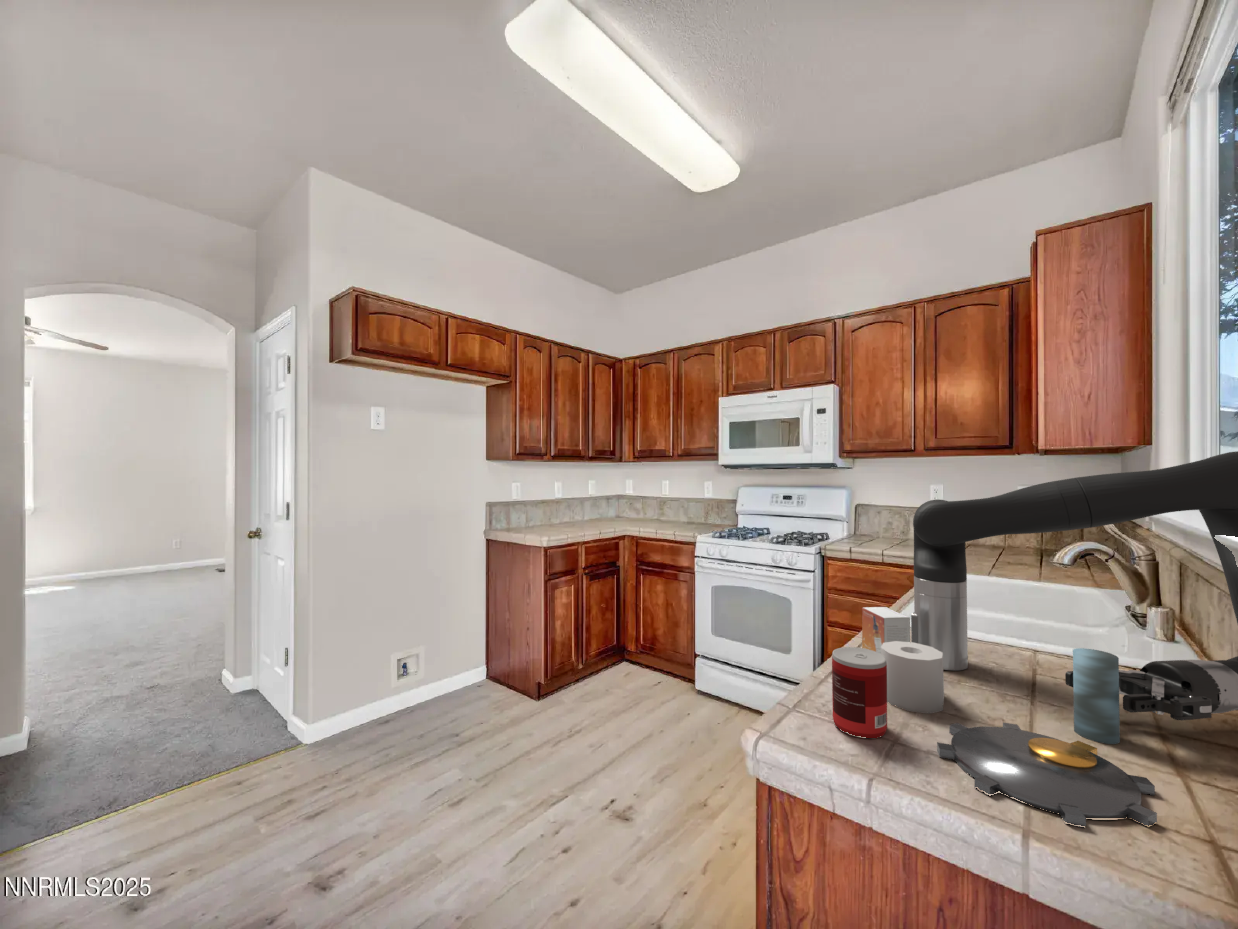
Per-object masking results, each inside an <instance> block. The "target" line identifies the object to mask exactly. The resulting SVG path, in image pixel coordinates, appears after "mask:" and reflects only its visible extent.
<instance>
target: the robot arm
mask: <svg viewBox="0 0 1238 929" xmlns="http://www.w3.org/2000/svg"><path fill="white" fill-rule="evenodd" d="M1196 510H1197V511H1199V513H1200V514H1201V516H1202V519H1203V521H1204V523H1205V525H1206V528H1207V530H1208V531H1209V534H1210V536H1211V539H1212V542H1213V544H1214V546H1215V549H1216V551H1217V552H1216V553H1217V554H1218V557H1219V562H1220V563H1221V567H1222V570H1223V573H1224V577H1225V582H1226V585H1227V588H1228V592H1229V595H1230V600H1231V601H1230V602H1231V604H1232V608H1233V611H1234V612H1233V613H1234V615H1235V619H1236V624H1237V625H1238V567H1237V565H1236V561H1235V557H1234V555H1233V554H1232V551H1230V550H1229V549H1228V548H1227V547H1225V545H1223V544H1221V543H1220V542H1219V541H1217V540H1216V539H1215V538H1214V537H1215V535H1226V536H1235V537H1238V450H1236V451H1229V452H1225V453H1221V454H1220V453H1219V454H1216V455H1213V456H1210V457H1206V458H1204V459H1200V460H1196V461H1193V462H1192V461H1191V462H1187V463H1183V464H1178V465H1174V466H1170V467H1165V468H1164V467H1163V468H1158V469H1157V468H1156V469H1152V470H1150V469H1149V470H1142V471H1141V470H1140V471H1128V472H1116V473H1115V472H1114V473H1105V474H1104V473H1103V474H1096V475H1095V474H1093V475H1087V476H1079V477H1072V478H1066V479H1065V478H1064V479H1061V480H1060V479H1059V480H1054V481H1053V480H1052V481H1048V482H1043V483H1039V484H1034V485H1030V486H1026V487H1023V488H1018V489H1016V490H1013V491H1009V492H1006V493H1003V494H999V495H995V496H990V497H983V498H975V499H965V500H950V501H949V500H944V499H931V500H928V501H925V502H923V503H922V504H920V506H918V507H917V508H916V510H915V512H914V514H913V519H912V526H913V600H914V602H913V603H914V604H913V605H914V607H913V613H911V615H910V642H914V643H918V644H922V645H926V646H930V647H933V648H935V649H937V650H938V651H940V652H942V653H943V671H944V670H945V671H963V670H966V669H968V667H969V665H968V664H969V663H968V662H969V655H968V651H969V650H968V646H969V645H968V643H969V641H968V591H967V590H968V589H967V588H968V586H967V585H968V569H967V556H966V549H967V548H966V543H967V542H972V541H975V540H976V541H977V540H982V539H985V538H986V539H987V538H992V537H996V536H1006V535H1024V534H1025V535H1027V534H1042V533H1043V534H1044V533H1053V532H1064V531H1065V532H1066V531H1067V532H1068V531H1074V530H1083V529H1090V528H1097V527H1105V526H1110V525H1115V524H1120V523H1125V522H1131V521H1137V520H1139V519H1140V520H1141V519H1145V518H1148V517H1152V516H1157V515H1162V514H1168V513H1177V512H1185V511H1196ZM1064 681H1065V682H1064V683H1065V684H1066V686H1068V687H1071V688H1073V670H1068V671H1066V672H1065V680H1064ZM1119 695H1123V697H1122V708H1123V710H1124V711H1125V712H1128V713H1132V714H1133V713H1149V712H1150V713H1151V712H1152V713H1153V714H1156V715H1164V714H1169V715H1170V718H1171V719H1173V720H1175V721H1191V720H1202V719H1211V718H1212V715H1213V714H1224V713H1228V712H1232V711H1238V656H1234V657H1231V658H1228V659H1226V660H1225V659H1219V660H1218V659H1217V660H1204V659H1179V660H1178V659H1177V660H1176V659H1175V660H1173V659H1172V660H1171V659H1170V660H1154V661H1149V662H1148V663H1146V664H1145V665H1143V666H1142V667H1141V669H1139V670H1135V669H1128V670H1125V669H1119Z"/></svg>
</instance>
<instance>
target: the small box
mask: <svg viewBox="0 0 1238 929" xmlns="http://www.w3.org/2000/svg"><path fill="white" fill-rule="evenodd" d="M861 609H862V610H861V611H862V616H861V619H862V622H861V623H862V625H861V626H862V627H861V628H862V629H861V632H862V633H861V635H862V636H861V648H864V649H869V650H872V651H875V652H878V653H880V654H881V646H882V644H883V643H886V642H893V641H901V642H911V616H908V615H904V614H902V613H900V612H897V611H895V610H893V609H891V608H889V607H887V606H871V607H869V606H866V607H862V608H861Z"/></svg>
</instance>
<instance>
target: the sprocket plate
mask: <svg viewBox="0 0 1238 929" xmlns="http://www.w3.org/2000/svg"><path fill="white" fill-rule="evenodd" d="M948 726H949V730H948V731H949V734H950V733H951V734H950V735H952V734H953V736H952V737H951V744H950V743H949V744H948V743H944V742H943V743H942V742H936V744H937V745H936V752H937V754H938V757H939V758H940V757H941V759H945V758H948V759H947V760H951V759H954V760H953V761H954V762H955V761H956V762H957V763H958V764H957V763H956V762H955V763H956V764H957V765H958V766H960V767H961V768H960V767H959V768H960V769H961V770H962V771H963V772H965V773H966V774H967V773H968V774H970V775H971V776H972V777H974V778H975V779H974V778H973V779H974V788H975V787H978V788H979V789H980V790H983V791H985V792H986V793H988V794H994V793H996V792H998V791H1000V792H1001V793H1003V794H1006V795H1008V796H1009V797H1014V798H1016V799H1018V800H1020V801H1023V802H1025V803H1027V804H1030V805H1032V806H1034V807H1037V808H1041V809H1044V810H1047V811H1051V812H1054V813H1059V814H1060V815H1061V817H1062V818H1063V820H1064V821H1065V822H1067V823H1071V824H1074V825H1081V826H1086V827H1087V821H1086V818H1126V817H1127V819H1128V818H1132V819H1134V820H1136V821H1138V822H1140V823H1143V824H1144V825H1148V826H1149V825H1153V824H1154V823H1155V822H1157V823H1158V813H1157V812H1156V811H1153V810H1151V809H1149V808H1148V807H1144V806H1143V805H1142V795H1147V794H1150V795H1149V796H1154V795H1155V796H1156V794H1155V793H1156V787H1155V785H1154V784H1153V783H1152V781H1150V779H1148V778H1147V777H1144V776H1137V775H1133V774H1128V773H1127V772H1126V771H1125V770H1123V769H1122V768H1120V767H1118V766H1117V765H1116V764H1114V763H1112V762H1111V761H1109V760H1108V759H1106V758H1104V757H1102V756H1100V755H1098V747H1095V746H1092V745H1090V744H1087V743H1085V742H1082V741H1080V740H1076V741H1073V742H1067V741H1065V740H1061V739H1058V738H1055V737H1051V736H1048V735H1045V734H1040V733H1037V732H1032V731H1028V730H1023V729H1021V728H1020V726H1019V725H1018V724H1016V723H1009V722H1002V726H988V725H987V726H974V727H972V726H971V727H967V726H966V725H963V724H961V723H959V722H955V723H952V724H948ZM968 774H967V775H968ZM970 775H969V776H970ZM971 776H970V777H971ZM972 777H971V778H972ZM1142 793H1143V794H1142ZM1155 796H1154V797H1155ZM1034 807H1033V808H1034ZM1037 808H1036V809H1037ZM1047 811H1046V812H1047ZM1051 812H1050V813H1051ZM1054 813H1053V814H1054ZM1061 817H1060V818H1061ZM1063 820H1062V821H1063Z"/></svg>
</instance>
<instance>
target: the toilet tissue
mask: <svg viewBox="0 0 1238 929" xmlns="http://www.w3.org/2000/svg"><path fill="white" fill-rule="evenodd" d="M881 654H882V655H883V656H884V657H885V658H886V662H887V703H888V702H889V703H890V704H891V705H890V704H889V703H888V704H889V705H890V706H893V705H896V706H897V707H896V706H895V707H896V708H899V707H900V708H899V709H901V708H903V709H902V710H904V709H905V710H904V711H907V712H913V713H923V714H934V713H938V712H942V711H944V702H945V680H944V669H943V653H942V652H940V651H938V650H937V649H935V648H933V647H930V646H926V645H922V644H918V643H914V642H911V641H910V642H901V641H893V642H886V643H883V644H882V646H881Z"/></svg>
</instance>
